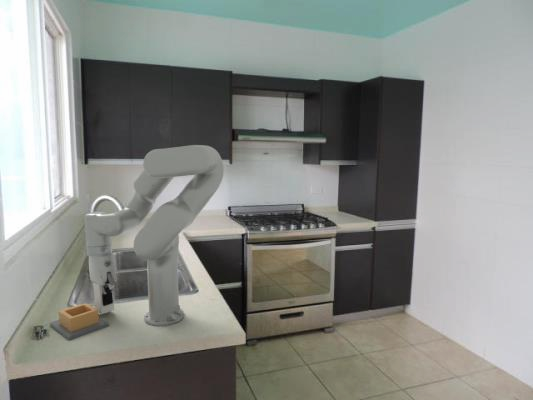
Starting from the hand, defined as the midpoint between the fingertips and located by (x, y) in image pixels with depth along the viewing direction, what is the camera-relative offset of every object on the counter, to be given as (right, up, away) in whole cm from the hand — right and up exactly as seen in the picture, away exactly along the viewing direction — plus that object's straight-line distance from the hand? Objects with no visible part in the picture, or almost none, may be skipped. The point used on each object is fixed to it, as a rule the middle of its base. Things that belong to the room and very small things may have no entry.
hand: (104, 302), depth 127 cm
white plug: (0, -3, 0) cm, 3 cm away
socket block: (-4, -5, -8) cm, 11 cm away
